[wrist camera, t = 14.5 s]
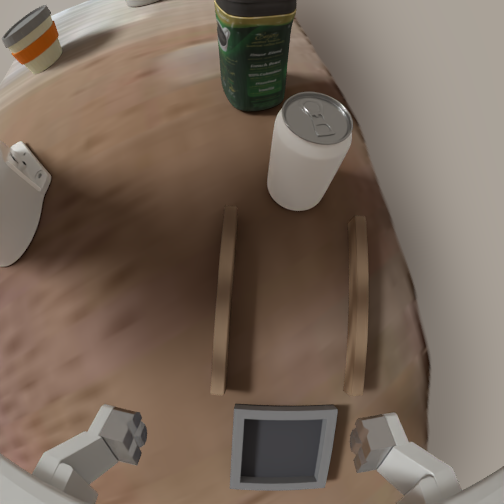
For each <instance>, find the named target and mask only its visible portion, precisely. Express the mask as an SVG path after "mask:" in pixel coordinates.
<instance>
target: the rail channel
mask: <svg viewBox="0 0 504 504" xmlns="http://www.w3.org/2000/svg"><path fill="white" fill-rule="evenodd" d="M237 222H238V210H237V206H225V209H224V219H223V229H222V239H221V250H220V261H219V273H218V285H217V297H216V311H215V325H214V340H213V356H212V373H211V393H210V394H214V395H224V393H225V390H226V378H227V361H228V345H229V329H230V315H231V300H232V286H233V273H234V260H235V247H236V234H237ZM348 246H349V313H348V337H347V354H346V367H345V379H344V389H343V391H344V392H346V393H347V394H349V395H350V396H361V395H363V388H364V378H365V367H366V354H367V337H368V308H369V274H368V244H367V227H366V216H357V215H355V216H354V217H353V218H352V219H351V220H350V221H349V223H348Z"/></svg>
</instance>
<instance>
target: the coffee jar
mask: <svg viewBox="0 0 504 504" xmlns="http://www.w3.org/2000/svg"><path fill="white" fill-rule="evenodd" d="M214 4H215V12H216V21H217V32H218V45H219V56H220V70H221V81H222V86H223V89H224V92H225V94H226V96H227V98H228V100H229V101H230V103H231V104H232V105H233V106H234V107H235V108H236V109H239V110H242V111H260V110H265V109H269V108H272V107H274V106H277V105H278V104H280V103H281V102H282V101H283V99H284V93H285V85H286V73H287V62H288V52H289V43H290V33H291V27H292V23H293V19H294V16H295V14H296V0H214Z"/></svg>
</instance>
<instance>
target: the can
mask: <svg viewBox="0 0 504 504" xmlns="http://www.w3.org/2000/svg"><path fill="white" fill-rule="evenodd" d="M352 129H353V121H352V117H351V115H350V113H349V112H348V110H347V109H346V108H345V107H344V106H343V105H342V104H341V103H340V102H339V101H337V100H336V99H334V98H332V97H330V96H328V95H325V94H322V93H317V92H301V93H297V94H295V95H292V96H291V97H289V98H288V99H287V100H286V101H285V103H284V104H283V107H282V109H281V110H280V111H279V113H278V115H277V117H276V120H275V124H274V131H273V138H272V146H271V153H270V161H269V169H268V178H267V186H268V191H269V193H270V195H271V197H272V198H273V199H274V200H275V202H277V203H278V204H279V205H281V206H282V207H284V208H286V209H289V210H294V211H304V210H308V209H310V208H312V207H314V206H315V205H317V204H318V203H319V201H320V200H321V199H322V197H323V195H324V194H325V192H326V190H327V188H328V187H329V185H330V183H331V181H332V179H333V178H334V176H335V174H336V172H337V170H338V168H339V167H340V165H341V163H342V161H343V159H344V157H345V155H346V153H347V151H348V149H349V147H350V144H351V141H352Z"/></svg>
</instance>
